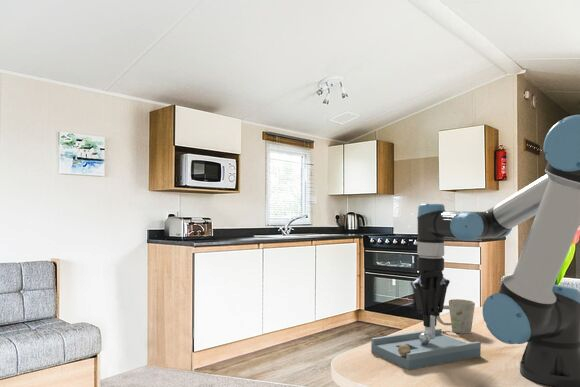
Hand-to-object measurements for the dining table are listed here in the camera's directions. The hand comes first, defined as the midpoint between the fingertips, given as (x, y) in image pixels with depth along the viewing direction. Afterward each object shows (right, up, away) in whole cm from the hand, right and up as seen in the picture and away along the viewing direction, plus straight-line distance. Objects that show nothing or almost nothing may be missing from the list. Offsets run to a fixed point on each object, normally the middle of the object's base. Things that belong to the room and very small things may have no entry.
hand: (429, 337), depth 137 cm
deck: (-2, -4, -3) cm, 5 cm away
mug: (+15, -5, +23) cm, 28 cm away
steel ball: (-2, 0, -1) cm, 2 cm away
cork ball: (-10, 0, -13) cm, 16 cm away
